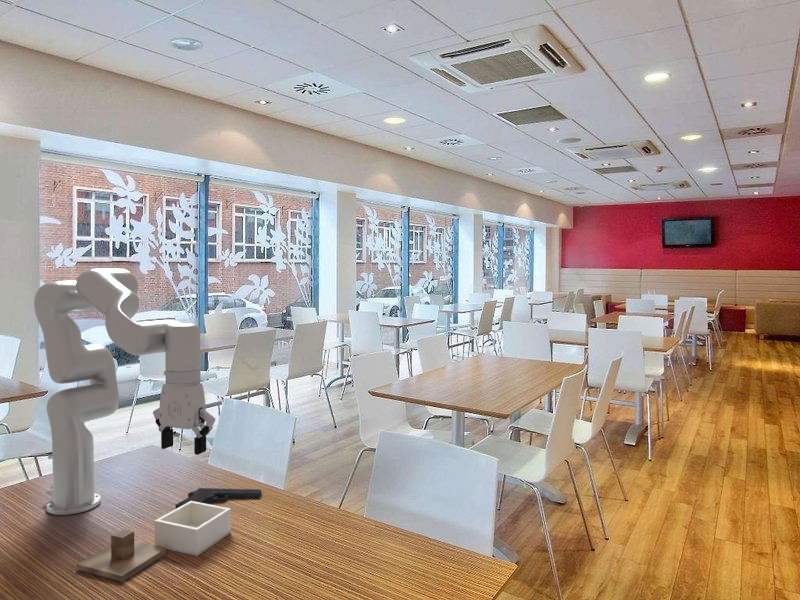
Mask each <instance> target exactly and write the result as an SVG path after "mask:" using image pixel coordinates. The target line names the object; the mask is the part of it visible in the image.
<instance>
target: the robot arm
mask: <svg viewBox="0 0 800 600" xmlns="http://www.w3.org/2000/svg"><path fill="white" fill-rule="evenodd" d="M138 290H139V283H138V279H137V278H136V276H135V274H133V273H132V272H131V271H129V270H127V269H124V268H90V269H87V270H85V271H83V272H80V274H79V275H78V276H77V278H76V280H57V281H51V282H48V283H44V284H42V285H41V286H40V287H39V288H38V289H37V291H36V293H35V295H34V300H33V309H34V312H35V316H36V319H37V321H38V324H39V326H40V328H41V332H42V335H43V341H44V349H45V357H46V362H47V369H48V373H49V377H50V379H51V381H52V382H54V383H55V384H61V385H62V384H63V385H65V384H74V383H78V382H83V381H89V383H90V384H86V385H81V386H74V387H70V388H66V389H62V390H59V391H57V392H55V393H54V394H52V395H51V396H50V397H49V398H48V400H47V403H46V413H47V418H48V422H49V426H50V433H51V449H52V451H51V452H52V453H51V454H52V457H51V458H52V485H51V486H50V488H49V489H47V490H46V491H45V495H47V496H50V497H51V500H50V501H49V502H48V503H47V504H46V512H47V513H48V514H51V515H55V516H68V515H75V514H79V513H83V512H84V513H85V512H87V511H89V510H90V511H91V510H92V509H94V508H96V507H97V506H99V505H100V503H101V502H102V497H101V494H98V493H96V492H95V452H94V451H95V449H94V445H95V444H94V436H93V434H92V432H91V431H90V430H89V429H88V427H86V422H90V421H92V420H97V419H101V418H105V417H108V416H111V415H113V414H115V413H116V412H117V409H118V408H119V404H120V395H119V387H118V379H117V373H116V366H115V365H116V364H115V360H114V357H113V354H112V352H111V351H110V349H109V348H108V347H106V346H104V345H102V344H99V343H98V344H97V343H95V344H93V343H92V344H87V345H84V344H83V343H84V342H83V341H82V340H83V339H82V333H81V329H80V327H79V325H78V323H77V322H76V321H75V320H74V319H73V318H72V317H70V315H68V314H72V313H73V314H74V313H77V314H78V313H92V312H100V313H101V314H102V315H103V316H104V317H105V321H104V324H105V331H106V333H107V335H108V337H109V339H110V340H111V341H112V342H113V343H114V344H116V346H117V347H119V348H120V349H122V350H123V351H124V352H126V353H127V354H129V355H132V356H146V355H151V354H152V355H153V354H159V353H165V370H164V371H163V375H164V377H165V382H163V383H162V386H161V392H160V398H159V407H158V408H156V409H154V410H153V411H152V415H153V418H154V419H155V424H156V425H157V426H158V431H159V432H160V438H161V440H160V445H161V447H160V448H161V450H166V449H169V448H170V447H173V446H174V429H182V430H192V431H193V433H194V434H195V436H196V437H194V438H193V439H194V446H193V447H194V448H193V450H194V451H193V452H194V455H196V456H199V455H201V454H203V453H205V452H206V451H207V435H209V434H210V432H211V431H212V430H213V427H214V424H215V423H216V417H214V416H213V415H212V414H211V413H209V412H208V411H207V409H206V399H205V398H206V397H205V391H204V385H203V382H201V381H202V380H201V377H202V374H201V372H202V371H201V370H202V369H201V364H202V363H201V328H200V326H199V325H198V324H197V323H194V322H193V323H191V322H180V321H177V320H174V319H163V320H162V319H161V320H151V321H150V320H149V321H138V322H136V321H134V320H133V317H134V316H135V315H136V314H137V313H138V310H139V308H140V304H141V303H140V298H139V296H138V295H137V293H138ZM173 428H174V429H173Z"/></svg>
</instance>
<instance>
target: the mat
mask: <svg viewBox="0 0 800 600" xmlns="http://www.w3.org/2000/svg"><path fill="white" fill-rule="evenodd" d="M166 553H167V552H166ZM166 553H165V554H163V555H161V556H160V557H158V558H157V559H155V560H154V561H152V562H150V563H149V564H147V565H146V566H144V567H143V568H141V569H139V570H138V571H136V572H135V573H133V574H132V575H130V576H128V577H127V578H125V579H124V580H122V581H121V580H117V579H114V578H110V577H106V576H103V575H99V574H95V573H91V572H88V571H84V570H80V569H78V571H81V572H84V573H88V574H92V575H93V576H94V575H95V576H98V577H102V578H106V579H110V580H114V581H118V582H121V583H123V582H125V581H126V580H127V579H129V578H131V577H132V576H134V575H135V574H137V573H139V572H140V571H142V570H144V569H145V568H146V567H149V566H150V565H151V564H153V563H155V562H156V561H158V560H160V559H161V558H162V557H164V556H165V555H167V554H166Z"/></svg>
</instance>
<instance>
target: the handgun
mask: <svg viewBox="0 0 800 600" xmlns="http://www.w3.org/2000/svg"><path fill="white" fill-rule="evenodd" d="M187 495H188V496H187V498H185V499H183V500H181V501H179V502H178V503H176V504H175V505H174V507H175V509H177V508H179V507H180V506H182V505H184V504H186V503H188V502H190V501H195V502H200V503H205V504H210V503H224V502H226V501H227V500H232V499H233V500H245V499H253V500H254V499H257V500H258V499H260V497H261V495H262V489H257V488H220V487H219V488H215V487H214V488H213V487H211V488H210V487H199V488H197V490H194V491H193V490H192V491H190V492H188V493H187ZM175 509H174V510H175Z"/></svg>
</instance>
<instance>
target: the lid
mask: <svg viewBox="0 0 800 600" xmlns="http://www.w3.org/2000/svg"><path fill="white" fill-rule="evenodd" d="M167 550H168V549H167V548H165V547H161V546H156V545H155V544H151V543H147V542H144V541H138V540H135V531H134V530H131V529H130V530H129V529H125V528H122V529H120V530H118V531H116V532H115V533H113V534H110V545H108V546H107V547H105V548H103V549H101V550H99V551H97V552H96V553H94V554H92V555H90V556H89V557H86V558H85V559H83V560H81V561H79V562H77V563H76V569H77V570H79V569H80V570H84V571H88V572H91V573H95V574H99V575H103V576H106V577H110V578H114V579H117V580H121V581H122V580H124V579H125V578H127V577H128V576H130V575H132V574H133V573H135V572H136V571H138V570H139V569H141V568H143V567H144V566H146V565H147V564H149V563H150V562H152V561H154V560H155V559H157V558H158V557H160V556H161V555H163V554H165V553H168V552H167ZM165 555H166V554H165ZM154 562H155V561H154ZM143 569H144V568H143ZM80 570H79V571H80ZM91 573H90V574H91ZM132 576H133V575H132ZM106 577H105V578H106ZM117 580H116V581H117Z"/></svg>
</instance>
